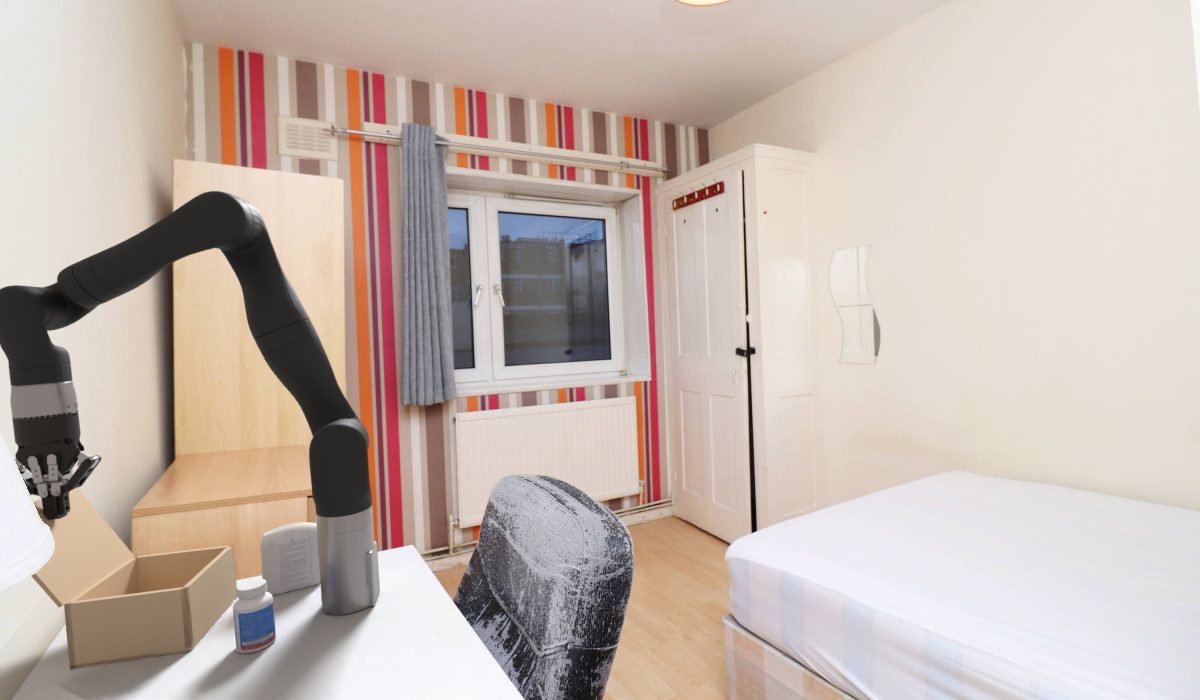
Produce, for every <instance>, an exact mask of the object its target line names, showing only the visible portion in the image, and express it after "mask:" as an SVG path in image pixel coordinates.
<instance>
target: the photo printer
mask: <svg viewBox="0 0 1200 700" xmlns="http://www.w3.org/2000/svg"><path fill="white" fill-rule="evenodd" d="M260 555H261V557H260V558H261V559H260V560H261V574H262V575H261V576H262V577H261V579H265V580H266V583H267V590H266V592H269V593H271V594H272V596H275V595H276V596H277V595H281V594H283V593H288V592H291V591H296V590H300V589H304V588H308V587H312V586H316V585H318V584H321V583H320V568H319V553H318V538H317V523H316V522H305V521H304V522H294V523H289V524H284V525H281V526H277V527H275V528H272V529H271V530H269V531H267V532H264V533H263V534H262V539H261V542H260Z"/></svg>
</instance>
